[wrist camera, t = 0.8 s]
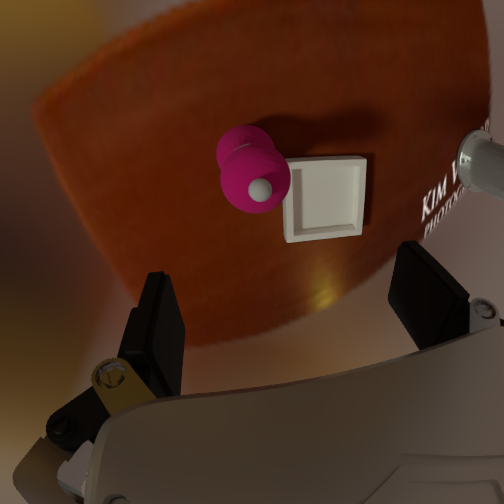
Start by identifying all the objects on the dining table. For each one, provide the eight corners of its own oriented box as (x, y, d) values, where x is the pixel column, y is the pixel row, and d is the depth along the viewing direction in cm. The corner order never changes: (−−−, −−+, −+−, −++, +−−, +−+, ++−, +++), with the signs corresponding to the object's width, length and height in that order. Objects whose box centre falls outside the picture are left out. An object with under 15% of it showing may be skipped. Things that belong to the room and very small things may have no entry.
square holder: (359, 155, 40) (366, 159, 38) (355, 227, 46) (361, 234, 44) (280, 158, 39) (284, 162, 37) (283, 235, 45) (287, 242, 43)
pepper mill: (211, 167, 39) (203, 229, 22) (223, 117, 36) (223, 134, 19) (262, 177, 41) (293, 245, 23) (275, 129, 37) (322, 159, 20)
